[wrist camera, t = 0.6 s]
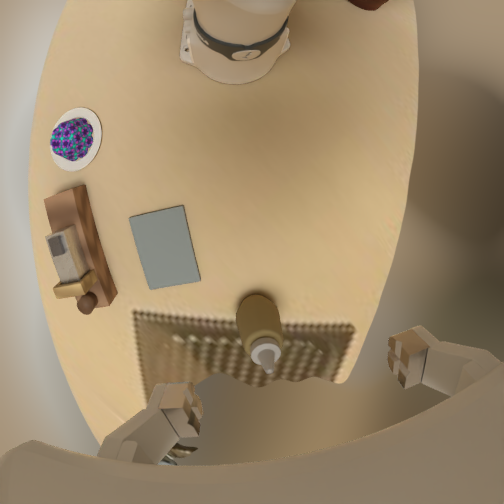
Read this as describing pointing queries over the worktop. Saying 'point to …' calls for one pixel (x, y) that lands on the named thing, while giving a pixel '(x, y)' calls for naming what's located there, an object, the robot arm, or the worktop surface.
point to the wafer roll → (368, 4)
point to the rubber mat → (165, 247)
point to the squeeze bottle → (260, 330)
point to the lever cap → (67, 254)
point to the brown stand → (98, 278)
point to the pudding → (75, 139)
